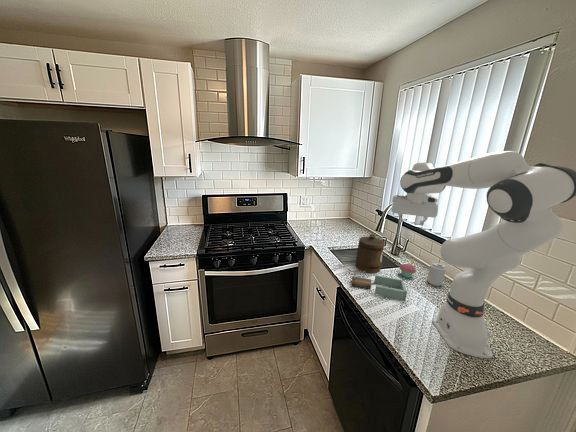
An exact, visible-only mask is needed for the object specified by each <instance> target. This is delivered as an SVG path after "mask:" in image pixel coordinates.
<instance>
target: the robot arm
mask: <svg viewBox="0 0 576 432" xmlns="http://www.w3.org/2000/svg"><path fill="white" fill-rule="evenodd" d="M399 181H400V182H399V184H400V187H401V189H402V190H403V191H404V192H405V193H406V194H405V195H404V194H396V195H393V196H392V200H391V201H392V205H391V209H390V212H392V213H393V214H397V215H398V218H399V221H398V222H399V223H404V219H403V217H402V216H403V215H409V216H416V217H423V219H422V220H420V221H419V225H420V226H424V224H425V222H427V220H429V218H433V219H435V218H437V216H438V211H439V205H438V201H439V199H438V198H437V197H436V196H434V195H431V194H440V193H441V192H443V191H444V190H445V189H446V186H447V187H453V188H460V189H461V188H462V189H471V190H472V189H473V190H474V189H475V190H479V189H480V190H481V189H487V188H488V189H487V192H486V203H487V205H488V207H489V208H490V210H491V211H492V212H493V213H494V214H496V215H497V216H498V217H499V218H501V219H502V221H500V222H499V223H497V224H495V225H493V226H491V227H489V228H488V229H486V230H482V231H479V232H476V233H473V234H469V235H467V236H462V237H457V238H451V239H446V240H445V241H444V242H443V243H442V244H441V246H440V251H439V252H440V253H439V254H440V256H441V258H442V260H443V262H445V264H448V265H451V266H454V267H458V268H466V269H465V270H464V271H461V272H458V273H456V274H455V276H454V277H453V278H452V282H451V283H452V284H451V285H450V291H448V293H447V295H446V301H445V303H443V304H441V305H440V308H439V310H438V313H437V316H436V317H434V318H432V320H431V321H432V323H433V325H434V327H435V328H436V329H437V331H438V332H439V333H440V335H441V337H442V339H443V340H444V342H445V343H446V344H447V345H448V347H449V348H450V349H452V350H454V351H456V352H459V353H461V354H464V355H467V356H471V357H475V358H480V359H492V358H493V356H494V353H493V352H492V349H491V345H490V342H489V337H491V335H492V331H491V330H489V329H487V327H486V326H487V321H486V320H485V318H484V314H485V313H484V312H485V303H484V302H485V299H486V296H487V294H488V291H489V289H490V287H491V285H493V283H495V281H496V280H498V278H500V277H501V276H502V275H503V274H506V273H507V272H509V271H512V270H514V269H516V268H517V267H518V266H519V264H520V263H521V256H522V255H525V254H527V253H529V252H530V253H531V252H532V251H535V250H537V249H539V248H542V247H544V246H545V245H547V244H549V243H551V242H552V241H553V240H555V239H556V238H558V237H559V236H560V235H561V234H562V232H563V230H564V224H563V221H562V219H561V218H560V217H559V216H558V215H557V214H556V213H554V212H553V207H555V206H557V205H559V204H560V205H561V204H564V203H566V202H569V201H571V200H572V199H574V198H575V197H576V170H574V169H571V168H568V167H565V166H559V165H550V164H547V163H542V162H539V163H537V164H535V165H532V166H531V165H529V164H528V163H527V161H526V158H525V157H524V156H523V155H522V154H521V153H520V152H517V151H514V150H504V151H503V150H502V151H493V152H489V153H485V154H481V155H477V156H474V157H470V158H467V159H464V160H461V161H458V162H455V163H451V164H447V165H443V166H441V167H434V166H433V163H431V162H416V163H414V164H413V166H412V169H409V170H407V171H406V172H405V173H404V174H403V175H402V176H401V178H400V180H399Z"/></svg>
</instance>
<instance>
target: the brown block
mask: <svg viewBox="0 0 576 432" xmlns="http://www.w3.org/2000/svg"><path fill="white" fill-rule="evenodd" d="M351 286H352V287H353V286H354V287H361V288H364V289H365V288H366V289H367V290H368V289H369V290H371V289H372V279H371V278H366V277H361V276H357V273H355V272H353V275H352V276H351ZM354 287H353V288H354ZM369 290H368V291H369Z"/></svg>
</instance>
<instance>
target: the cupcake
mask: <svg viewBox="0 0 576 432" xmlns="http://www.w3.org/2000/svg"><path fill="white" fill-rule="evenodd" d="M414 258H415V257H413V258H412V260H411V261H410V263H402V264H401V265H399V270H401V276H403V278H407V279H409V278H411V277H412V276H413V274H416V271H417V269H416V267H415V266H413V262H414Z"/></svg>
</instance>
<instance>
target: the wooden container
mask: <svg viewBox="0 0 576 432" xmlns="http://www.w3.org/2000/svg"><path fill="white" fill-rule="evenodd" d="M384 248H385V241H384V240H383V239H381V238H378V237H376V235H375V234H369V236H361V237H359V240H358V246H357V251H356V258H355V267H356V269H358V270H359V271H361V272H363V271H365V272H364V273H367V274H376V273H379V272H380V271H381V267H382V260H383V254H384Z"/></svg>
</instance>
